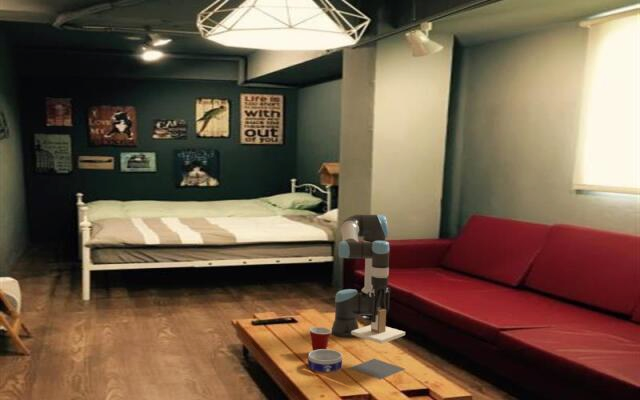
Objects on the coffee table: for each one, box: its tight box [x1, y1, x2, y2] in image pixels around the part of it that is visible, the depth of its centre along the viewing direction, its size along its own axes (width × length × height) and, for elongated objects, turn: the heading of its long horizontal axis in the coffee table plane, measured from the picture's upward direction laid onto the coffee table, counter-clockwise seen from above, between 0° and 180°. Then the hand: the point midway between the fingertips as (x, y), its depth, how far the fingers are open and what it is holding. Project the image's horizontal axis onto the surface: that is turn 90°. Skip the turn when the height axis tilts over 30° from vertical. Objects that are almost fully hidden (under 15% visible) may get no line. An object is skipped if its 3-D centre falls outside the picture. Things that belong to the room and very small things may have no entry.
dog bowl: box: [307, 348, 343, 373], centre depth 260 cm, size 15×15×6 cm
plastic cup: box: [308, 326, 332, 351], centre depth 277 cm, size 11×11×12 cm
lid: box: [351, 308, 406, 344], centre depth 257 cm, size 17×17×12 cm
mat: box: [349, 358, 406, 380], centre depth 258 cm, size 18×18×1 cm
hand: (378, 327), depth 257 cm, fingers closed on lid, 4 cm apart
